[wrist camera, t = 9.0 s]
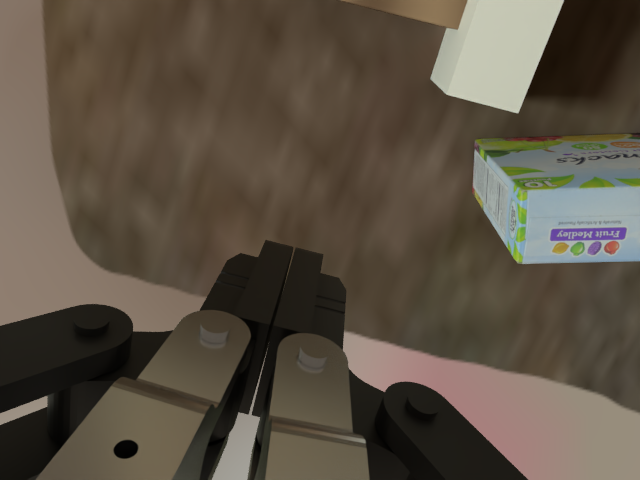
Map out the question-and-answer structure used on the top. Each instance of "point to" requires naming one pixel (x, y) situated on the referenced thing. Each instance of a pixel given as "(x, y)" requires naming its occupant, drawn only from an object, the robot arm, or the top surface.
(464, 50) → the cream rectangular block
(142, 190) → the top surface
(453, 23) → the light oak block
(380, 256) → the top surface
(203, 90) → the top surface
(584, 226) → the snack box
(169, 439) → the robot arm
